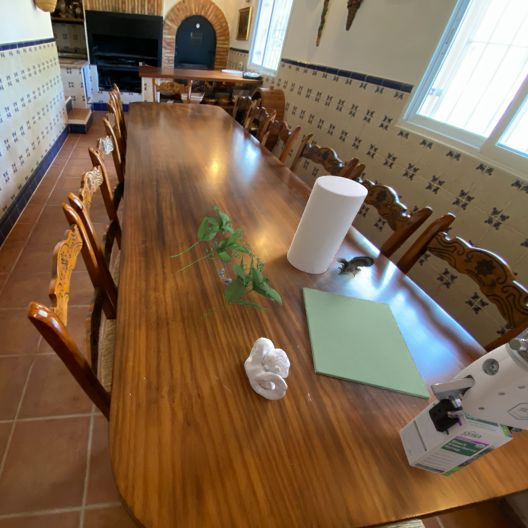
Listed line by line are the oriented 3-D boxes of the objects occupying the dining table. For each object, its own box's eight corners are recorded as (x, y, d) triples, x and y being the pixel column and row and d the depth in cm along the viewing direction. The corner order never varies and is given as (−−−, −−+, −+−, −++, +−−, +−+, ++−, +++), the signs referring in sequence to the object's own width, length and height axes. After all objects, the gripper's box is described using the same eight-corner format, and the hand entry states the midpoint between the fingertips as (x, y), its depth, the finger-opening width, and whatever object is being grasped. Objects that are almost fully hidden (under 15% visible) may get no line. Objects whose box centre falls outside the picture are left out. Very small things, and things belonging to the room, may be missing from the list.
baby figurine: (252, 342, 67) (284, 328, 62) (275, 397, 62) (311, 387, 57) (229, 346, 61) (262, 331, 56) (252, 408, 56) (291, 397, 51)
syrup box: (408, 466, 49) (468, 428, 40) (396, 429, 53) (447, 387, 44) (447, 477, 48) (517, 440, 39) (431, 439, 52) (491, 398, 43)
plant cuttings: (216, 367, 69) (304, 321, 64) (177, 337, 58) (279, 279, 53) (183, 269, 95) (243, 231, 90) (152, 236, 84) (218, 191, 79)
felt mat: (386, 305, 79) (388, 303, 78) (428, 399, 59) (430, 397, 59) (302, 289, 82) (303, 287, 81) (315, 373, 62) (316, 371, 61)
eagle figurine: (357, 284, 83) (378, 270, 86) (352, 261, 81) (373, 248, 84) (333, 280, 90) (353, 267, 93) (328, 258, 89) (349, 246, 91)
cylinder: (291, 244, 98) (320, 171, 82) (331, 257, 94) (369, 183, 78) (282, 263, 90) (312, 187, 74) (325, 279, 86) (366, 201, 70)
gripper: (498, 368, 31) (405, 438, 43) (694, 408, 29) (541, 471, 40) (461, 316, 37) (388, 390, 48) (621, 346, 35) (506, 416, 46)
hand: (458, 426), depth 44 cm, fingers closed on syrup box, 5 cm apart
